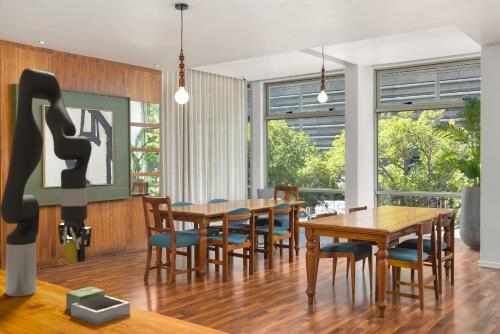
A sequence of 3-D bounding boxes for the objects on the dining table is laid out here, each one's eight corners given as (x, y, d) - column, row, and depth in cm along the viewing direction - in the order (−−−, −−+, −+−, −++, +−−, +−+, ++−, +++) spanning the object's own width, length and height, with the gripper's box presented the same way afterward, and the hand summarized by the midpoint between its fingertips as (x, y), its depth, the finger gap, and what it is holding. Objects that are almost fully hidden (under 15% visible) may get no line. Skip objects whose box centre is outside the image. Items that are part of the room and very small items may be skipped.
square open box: (57, 311, 155) (57, 294, 155) (91, 301, 165) (91, 286, 165) (96, 324, 144) (96, 307, 144) (129, 314, 153) (130, 297, 153)
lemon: (78, 267, 149) (77, 239, 148) (61, 266, 150) (60, 239, 150) (88, 263, 154) (87, 236, 154) (71, 262, 155) (71, 236, 155)
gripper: (48, 203, 153) (49, 259, 153) (76, 206, 144) (78, 265, 144) (71, 201, 159) (72, 255, 159) (99, 203, 150) (100, 261, 150)
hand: (74, 260), depth 152 cm, fingers closed on lemon, 5 cm apart
